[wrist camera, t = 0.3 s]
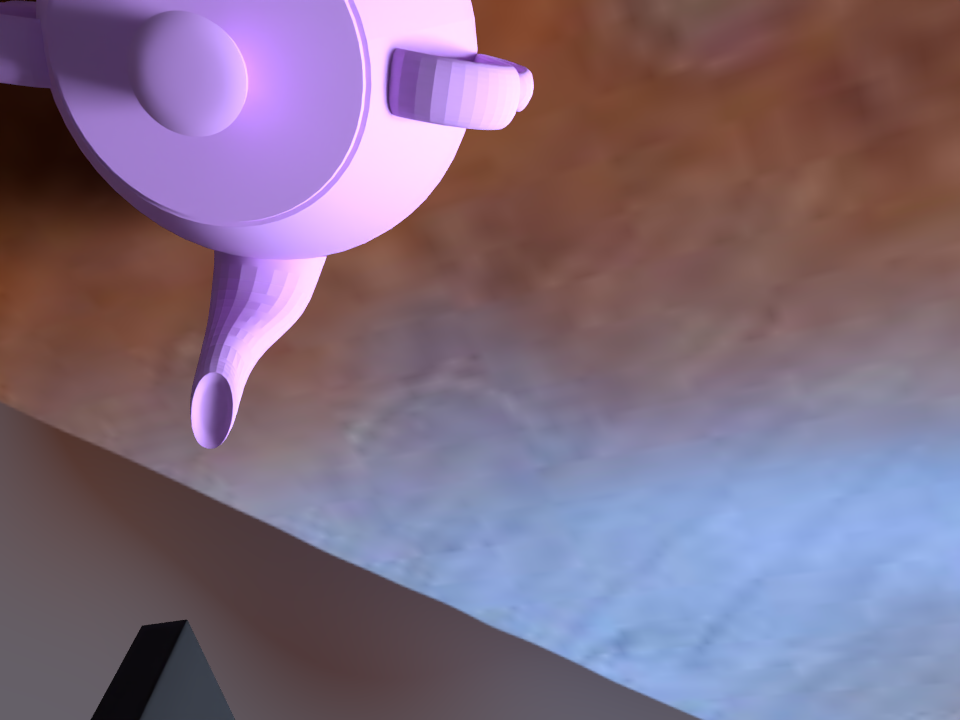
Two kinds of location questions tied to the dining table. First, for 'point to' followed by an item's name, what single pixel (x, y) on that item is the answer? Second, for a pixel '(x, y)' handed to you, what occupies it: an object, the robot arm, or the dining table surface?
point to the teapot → (262, 135)
